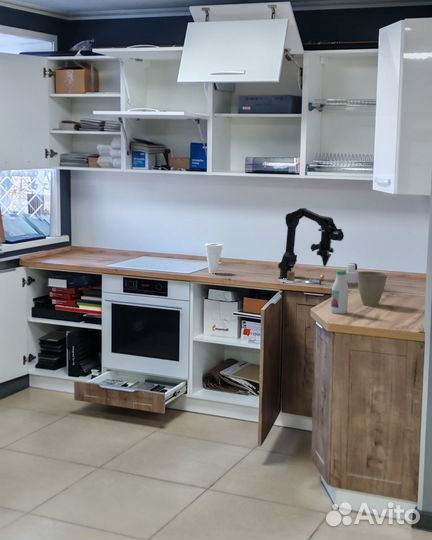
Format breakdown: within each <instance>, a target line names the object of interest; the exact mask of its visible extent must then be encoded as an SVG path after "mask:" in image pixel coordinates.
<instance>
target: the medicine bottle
mask: <svg viewBox="0 0 432 540" xmlns="http://www.w3.org/2000/svg"><path fill="white" fill-rule="evenodd" d="M345 271H346V276H345V278H346V282H347V284H358V280H357V272H359V271H358V264H357V263H354V262H348V263H347V264H346V270H345Z"/></svg>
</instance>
